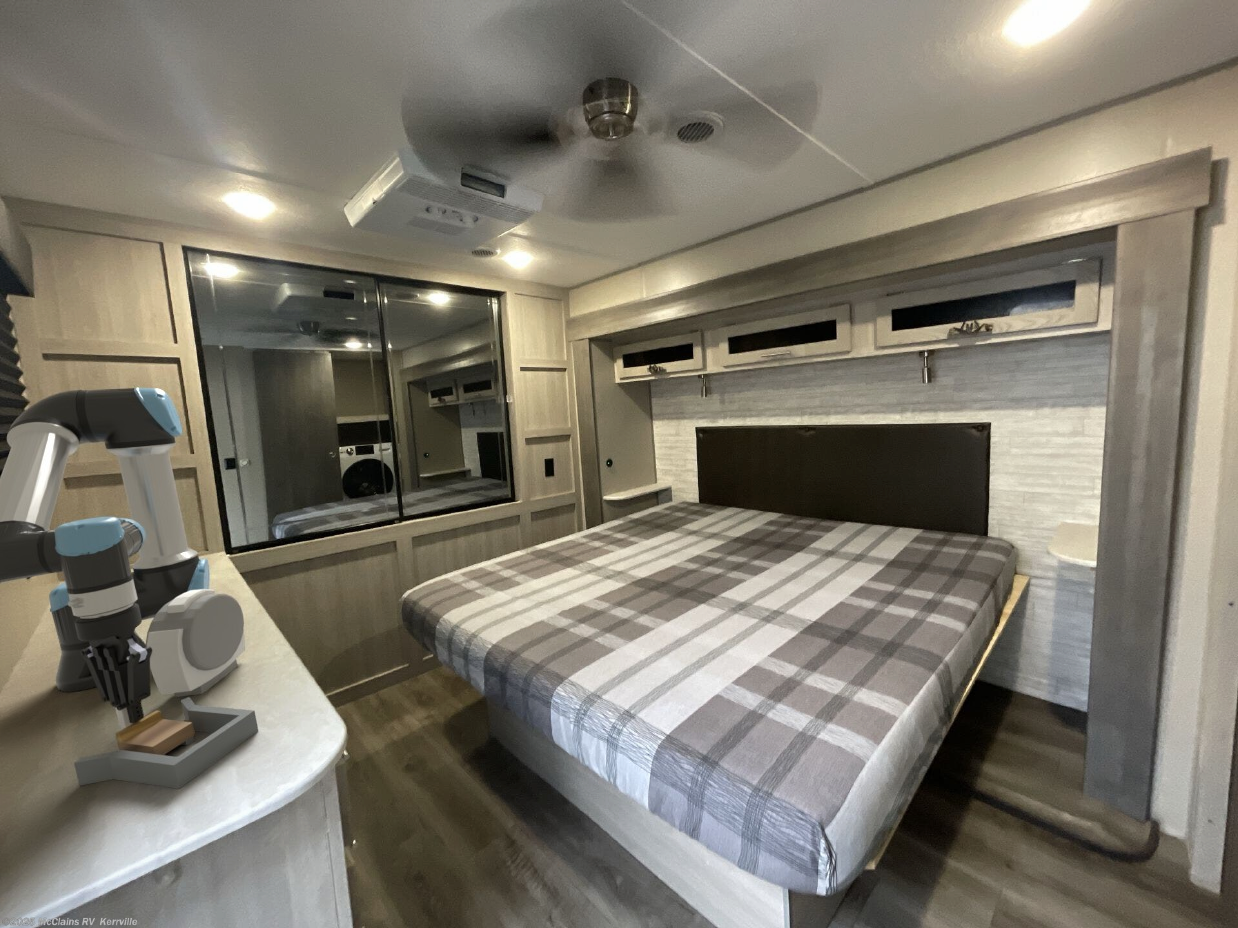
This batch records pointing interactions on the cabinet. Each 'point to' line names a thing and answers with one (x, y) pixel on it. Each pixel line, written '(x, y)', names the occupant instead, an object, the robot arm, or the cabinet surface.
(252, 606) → the cabinet surface
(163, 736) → the tan block yellow end
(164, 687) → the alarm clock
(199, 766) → the bay
